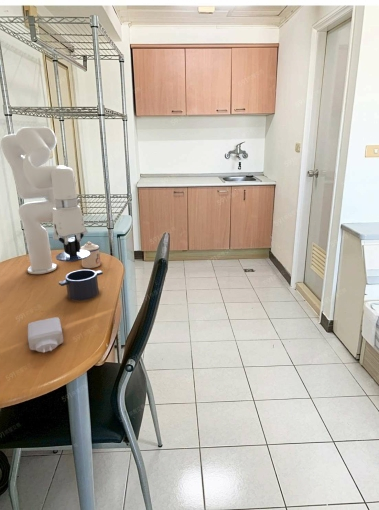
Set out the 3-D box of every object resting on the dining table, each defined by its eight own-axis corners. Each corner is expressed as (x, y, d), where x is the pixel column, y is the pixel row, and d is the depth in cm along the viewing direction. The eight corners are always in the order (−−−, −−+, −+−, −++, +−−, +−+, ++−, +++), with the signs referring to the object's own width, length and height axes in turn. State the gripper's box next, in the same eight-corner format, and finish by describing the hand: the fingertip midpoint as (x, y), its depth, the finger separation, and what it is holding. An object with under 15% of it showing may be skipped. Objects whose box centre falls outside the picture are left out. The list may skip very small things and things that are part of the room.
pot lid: (50, 257, 129) (48, 240, 127) (81, 250, 136) (79, 234, 134) (64, 265, 120) (61, 247, 118) (96, 257, 128) (94, 240, 126)
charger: (30, 363, 94) (29, 336, 107) (66, 354, 97) (61, 329, 110) (27, 348, 92) (27, 322, 105) (63, 340, 96) (59, 316, 109)
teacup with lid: (100, 267, 163) (98, 244, 159) (80, 269, 161) (77, 245, 157) (102, 259, 174) (99, 237, 170) (83, 261, 172) (80, 238, 169)
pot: (56, 297, 133) (53, 276, 130) (96, 284, 144) (94, 265, 141) (69, 307, 125) (66, 285, 122) (110, 293, 136) (108, 273, 133)
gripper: (83, 199, 130) (88, 246, 136) (39, 205, 119) (47, 255, 125) (92, 201, 124) (97, 250, 130) (47, 208, 114) (55, 260, 120)
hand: (72, 252), depth 128 cm, fingers closed on pot lid, 2 cm apart
